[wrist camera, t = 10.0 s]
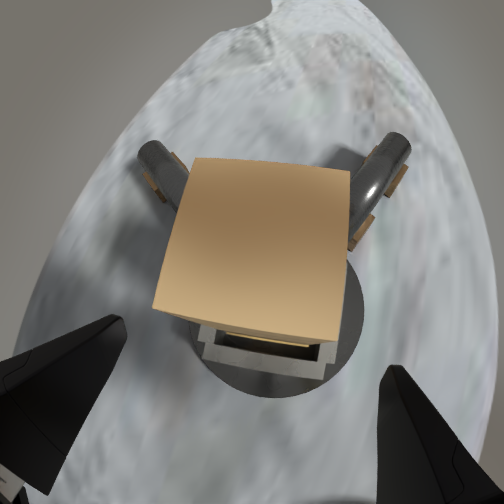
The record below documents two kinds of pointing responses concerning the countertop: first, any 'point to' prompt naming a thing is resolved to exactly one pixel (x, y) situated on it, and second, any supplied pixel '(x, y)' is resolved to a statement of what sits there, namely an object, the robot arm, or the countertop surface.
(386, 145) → the shaft
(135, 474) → the countertop surface
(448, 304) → the countertop surface
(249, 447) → the countertop surface
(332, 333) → the block
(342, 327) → the grey round socket base
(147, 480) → the countertop surface
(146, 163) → the shaft
